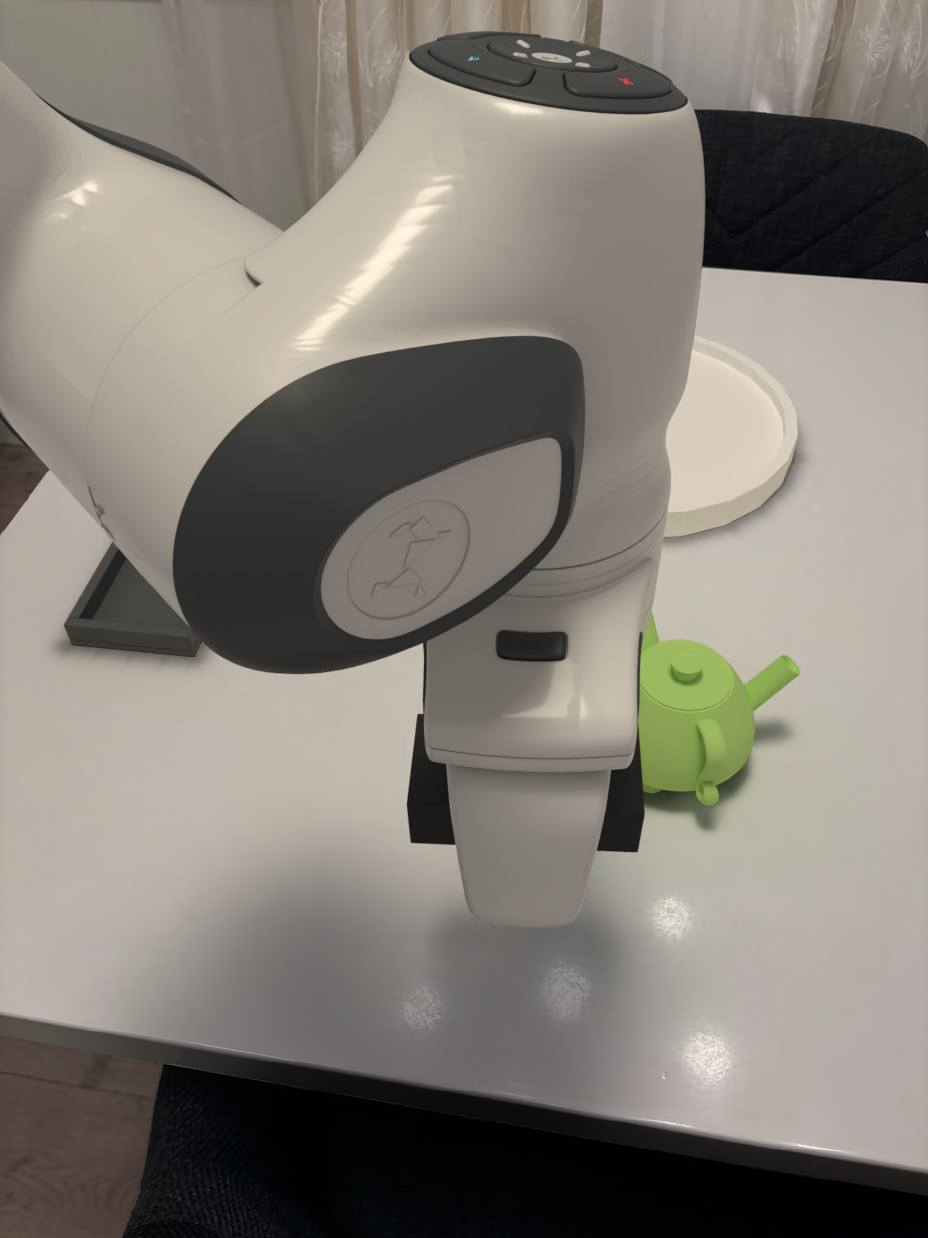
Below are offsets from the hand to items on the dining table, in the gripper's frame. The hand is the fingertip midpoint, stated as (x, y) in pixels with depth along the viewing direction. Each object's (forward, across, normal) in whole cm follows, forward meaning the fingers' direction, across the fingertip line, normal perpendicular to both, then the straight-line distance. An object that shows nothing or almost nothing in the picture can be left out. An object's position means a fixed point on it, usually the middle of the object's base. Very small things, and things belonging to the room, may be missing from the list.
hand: (524, 780), depth 46 cm
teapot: (+15, -14, +9) cm, 23 cm away
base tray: (+15, -28, -27) cm, 41 cm away
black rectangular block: (+2, 0, 0) cm, 2 cm away
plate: (+15, -48, +8) cm, 51 cm away
